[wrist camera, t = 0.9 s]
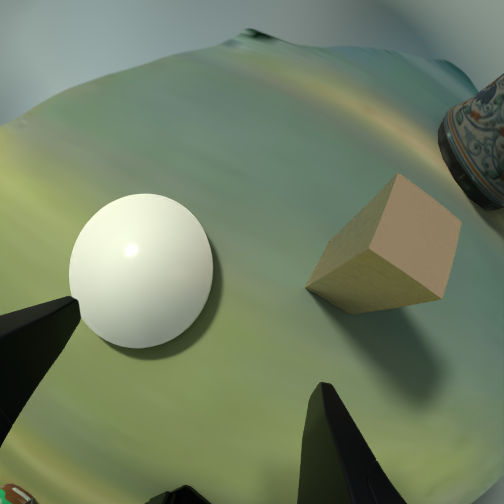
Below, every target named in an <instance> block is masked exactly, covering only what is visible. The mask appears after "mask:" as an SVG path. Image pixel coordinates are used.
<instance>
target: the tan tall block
mask: <svg viewBox="0 0 504 504" xmlns="http://www.w3.org/2000/svg"><path fill="white" fill-rule="evenodd" d="M461 223H462V222H461V221H460V220H459V219H458V218H456V217H455V216H454V215H453V214H452V213H450V212H449V211H448V210H447V209H446V208H444V207H443V206H442V205H441V204H439V203H438V202H437V201H436V200H434V199H433V198H432V197H430V196H429V195H428V194H427V193H425V192H424V191H423V190H421V189H420V188H419V187H417V186H416V185H415V184H413V183H412V182H410V181H409V180H408V179H406V178H405V177H403V176H402V175H400V174H399V173H397V174H396V175H395V176H394V177H393V178H392V179H391V180H390V182H389V183H388V184H387V185H386V186H385V187H384V188H383V189H382V190H381V191H380V192H379V193H378V194H377V195H376V196H375V197H374V198H373V199H372V200H371V201H370V202H369V203H368V204H367V205H366V206H365V207H364V208H363V209H362V210H361V211H360V212H359V213H358V214H357V215H356V216H355V217H354V218H353V219H352V220H351V221H350V222H349V223H348V224H347V225H346V226H345V227H344V228H343V229H342V230H341V231H340V232H339V233H338V234H336V235H335V236H334V237H333V238H332V239H331V240H330V241H329V243H328V245H327V247H326V249H325V251H324V253H323V255H322V256H321V258H320V260H319V262H318V264H317V266H316V268H315V270H314V271H313V273H312V275H311V277H310V279H309V281H308V282H307V284H306V286H305V288H306V289H308V290H310V291H312V292H313V293H315V294H317V295H318V296H320V297H322V298H323V299H325V300H327V301H328V302H330V303H332V304H334V305H335V306H337V307H339V308H340V309H342V310H344V311H345V312H347V313H349V314H350V315H351V314H358V313H365V312H372V311H379V310H385V309H391V308H397V307H403V306H409V305H414V304H420V303H425V302H430V301H435V300H440V299H442V298H443V295H444V292H445V288H446V285H447V282H448V278H449V275H450V271H451V267H452V263H453V260H454V256H455V251H456V247H457V243H458V238H459V233H460V228H461Z"/></svg>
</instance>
